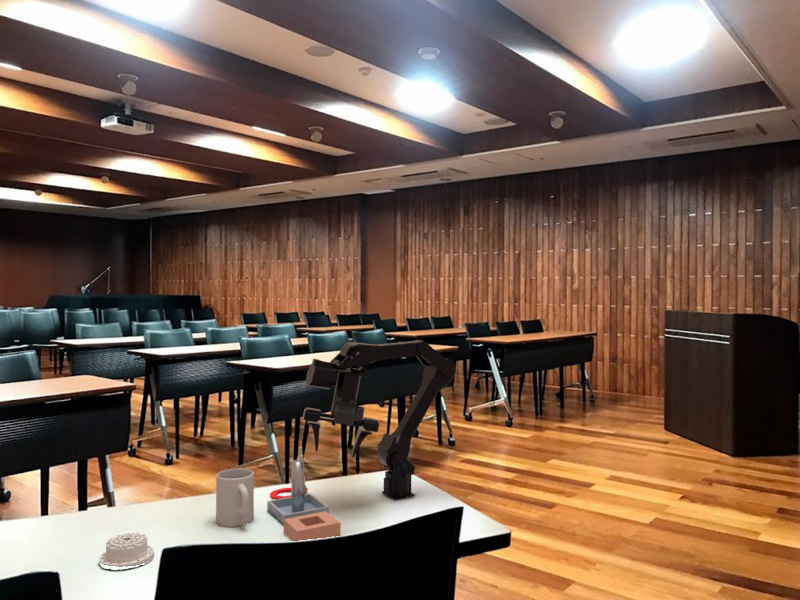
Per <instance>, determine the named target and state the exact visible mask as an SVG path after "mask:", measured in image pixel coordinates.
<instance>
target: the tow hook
mask: <svg viewBox="0 0 800 600" xmlns="http://www.w3.org/2000/svg"><path fill="white" fill-rule="evenodd" d="M298 450H299V451H298V452H299V454H298V460H303V461H304V454H303V446H298ZM308 491H309V490H308V487H307V485H306V476H305V475H304V495H305V494H307V492H308ZM282 493H292V487H282V488H278V489H275V490H272V491H271V492H270V493H269V498H270V497H271V498H272V499H271V498H270V499H271V500H273V499H275V500H277V499H282V498H288V497H292V494H290V495H279V494H282Z"/></svg>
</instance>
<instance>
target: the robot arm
mask: <svg viewBox="0 0 800 600" xmlns="http://www.w3.org/2000/svg"><path fill="white" fill-rule="evenodd" d="M340 348H341V349H340V350H339V351H340V352H339V353H337V354H336V356H334V357H333V358H332V359H331V360H330V361H324V360H320V359H318V358H313V359H312V362H311V364H310V365H309V368H308V370H307V372H306V379H305V383H306V386H308V387H312V388H319V389H325V390H331V389H332V388H333V387H335V390H334V392H333V393H334V394H333V399H332V404H331V409H330V413H326V412H322V410H321V409H320V408H319V409H318V408H312V407H305V408H304V410H303V414H302V420H303V421H306V422H307V425H309V426H311V429H312V434H313V440H314V441H313V442H314V448H315V449H314V450H315V452H318V449H319V445H320V443H319V442H320V428H321V423H320V421H324V422H329V423H330V422H331V423H335V424H337V425H341V424H342V425H347V426H348V427H353V426H356V427H358V429H357V432H356V437H355V440H354V444H353V448H352V450H351V451H352V453H351V458H354V457H355V456H356V454H357V452H358V450H359V448H360V446H361V445H362V443H363V441H364V440H365V438H366V437H368V435H370V436H372V435H373V433H378V432H379V428H380V423H379V420H377V419H376V418H373V417H367V416H364V413H365V407H364V406H361V405H360V406H359V405H356V404H357V400H358V399H357V398H358V393H359V389H360V381H361V378H362V377H365V378H369V377H370V375H369V373H368V372H367V370H366V369H365V366H367V365H370V364H372V363H374V362H377V361H380V360H389V359H390V360H391V359H396V358H397V359H398V358H409V357H416V358H417V359H418V360H419V363H421V364H422V365H423V366H424V370H423V374H422V380H421V381H422V382H421V385H420V387H419V389H418V391H416V394H415V396H414V397H413V399H412V401H411V403H409V406H408V408H407V410H406V411H405V413H404V415H403V416H402V418H401V419H400V422H399V424H398V426H397V427H396V429H395V430H394V431H393V432H392V433H391V434H389V433H387V432H385V433H383V436H382V438H381V440H380V442H379V443H378V444H377V445H376V446H377V447H378V448H377V451H376V454H377V455H376V457H377V459H378V461H379V462H380V463H382V465H383V468H384V469H386V471H385V472H384V477H383V491H381V494H382V495H385V496H386V497H387V498H389V499H391V500H394V501H396V500H401V499H406V498H412V497H415V496H416V494H415V493H414V492H412V476H413V475H414V473H415V470H416V466H415V465H414V464H413V463H412V462H411V461H409V459H408V458H409V454H410V453H411V452H410V451H411V443H412V439H413V438H414V436H415V433H416V431H417V430H418V428H419V426H420V425H421V423H422V421H423V419H424V418H425V415H426V414H427V412H428V410H429V409H430V406H431V405H432V403H433V402H434V400H435V398H436V396H437V394H438V393H439V392H440V391H441V390H442V389H444V388H446V387H447V386H448V385H449V383H450V382H451V381H452V379H453V378H454V377H455V375H456V373H457V368H456V364H455V363H454V361H453V360H451V359H449V358H446V357H444V355H442V354H441V353H440V352H438V351H437V350H436V349H434V348H433V347H432V346H431V345H430V344H429V343H428V342H427V341H425V340H420V339H415V340H411V341H399V342H390V343H379V344H373V343H366V342H365V343H364V342H355V341H354V342H353V341H348V342H346V343H344V344H343V345H342V346H341V347H340ZM353 367H354V368H353Z"/></svg>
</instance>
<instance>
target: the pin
mask: <svg viewBox="0 0 800 600" xmlns="http://www.w3.org/2000/svg"><path fill="white" fill-rule="evenodd" d="M290 463H291V464H290V465H291V468H290V469H291V470H290V471H291V474H290V475H291V488H292V492H291V495H292V513H295V512H301V511H304V476H305V460H304V459H303V460H299V459H293V460H292V461H291V462H290Z"/></svg>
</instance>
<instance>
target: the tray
mask: <svg viewBox="0 0 800 600" xmlns="http://www.w3.org/2000/svg"><path fill="white" fill-rule="evenodd" d="M266 503H267V504H266V505H267V506H266V507H267V508H266V509H267V510H266V511H267V513H268V514H269V515H270V516H272V517H273V518H275V520H276V521H277V520H278V522H279V524H281V525H282V526H283V527H284V519H288V518H293V517H298V516H304V515H309V514H314V513H319V512H324V511H325V512H327V513H328V514H330V506H329V505H327V504H326V503H324V502H323V501H322V500H320V499H318V498H317V497H316V496H315V495H313V494H311V493H306V494H305V495H304V511H301V512H295V513H292V497H288V498H282V499H277V500H273V499H271V500H268V501H267V502H266Z"/></svg>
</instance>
